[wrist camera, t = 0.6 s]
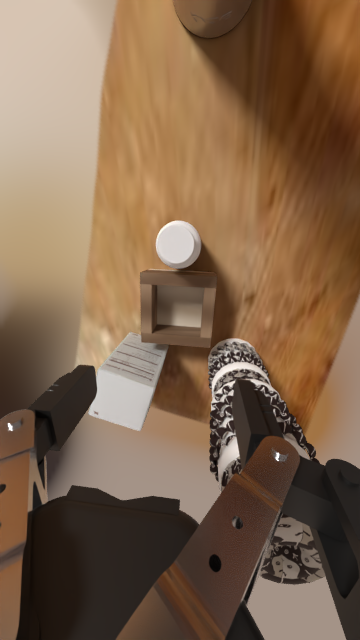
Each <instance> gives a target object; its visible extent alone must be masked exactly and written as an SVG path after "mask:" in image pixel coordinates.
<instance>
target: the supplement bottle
mask: <svg viewBox="0 0 360 640" xmlns="http://www.w3.org/2000/svg"><path fill="white" fill-rule="evenodd" d="M156 250H157V253H158V256H159V257H160V259H161V260H162V261H163V263H165V264H166V265H167V266H169V267H172V268H176V269H180V268H185V267H188V266H190V265H191V264H192V263H194V262H195V261H196V259H197V258H198V256H199V254H200V251H201V239H200V236H199V234H198V232H197V230H196V229H195V228H194V227H193V226H192V225H191V224H189V223H187V222H184V221H173V222H170V223H168V224H166V225H165V226H164V227H163V228H162V229H161V230H160V232H159V234H158V236H157V240H156Z"/></svg>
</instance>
